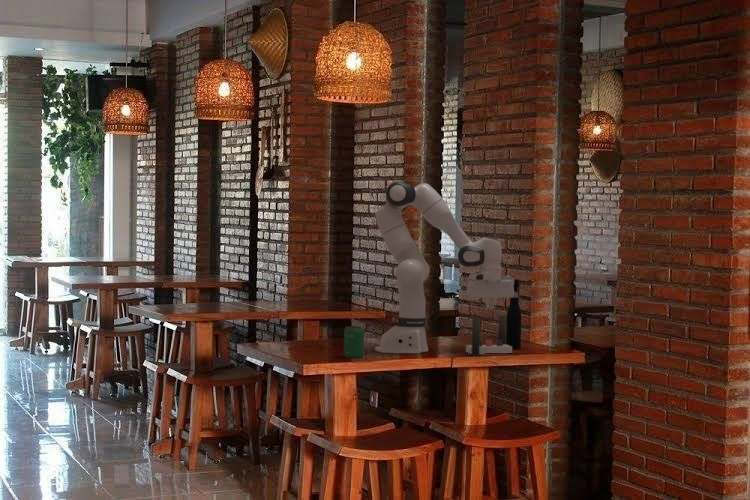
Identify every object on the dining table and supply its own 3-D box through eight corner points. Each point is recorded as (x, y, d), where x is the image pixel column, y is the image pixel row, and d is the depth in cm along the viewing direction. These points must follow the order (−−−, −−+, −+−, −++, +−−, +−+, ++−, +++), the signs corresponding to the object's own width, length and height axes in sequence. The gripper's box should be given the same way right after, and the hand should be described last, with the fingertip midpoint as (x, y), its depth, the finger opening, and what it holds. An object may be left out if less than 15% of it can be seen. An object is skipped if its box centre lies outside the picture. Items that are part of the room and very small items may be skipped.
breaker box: (470, 354, 439) (471, 347, 439) (465, 352, 446) (466, 345, 445) (512, 353, 443) (512, 346, 442) (506, 351, 449) (506, 344, 449)
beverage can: (367, 357, 425) (368, 327, 424) (351, 359, 420) (351, 329, 420) (356, 355, 431) (356, 325, 431) (340, 356, 427) (340, 326, 426)
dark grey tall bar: (473, 356, 434) (473, 319, 434) (470, 355, 437) (471, 318, 436) (480, 356, 435) (480, 319, 434) (477, 354, 438) (478, 318, 437)
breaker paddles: (476, 346, 442) (476, 340, 442) (475, 345, 443) (475, 339, 443) (502, 345, 445) (502, 340, 444) (501, 345, 446) (501, 339, 446)
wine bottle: (520, 350, 455) (521, 280, 454) (505, 349, 456) (506, 279, 455) (521, 348, 461) (522, 279, 460) (506, 347, 463) (507, 279, 461)
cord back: (499, 351, 451) (500, 315, 450) (497, 350, 454) (497, 315, 453) (506, 350, 451) (506, 315, 451) (503, 350, 454) (504, 315, 454)
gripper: (511, 275, 448) (511, 307, 449) (465, 275, 444) (464, 308, 444) (516, 276, 442) (516, 309, 442) (469, 276, 437) (469, 309, 438)
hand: (490, 308), depth 443 cm, fingers closed
